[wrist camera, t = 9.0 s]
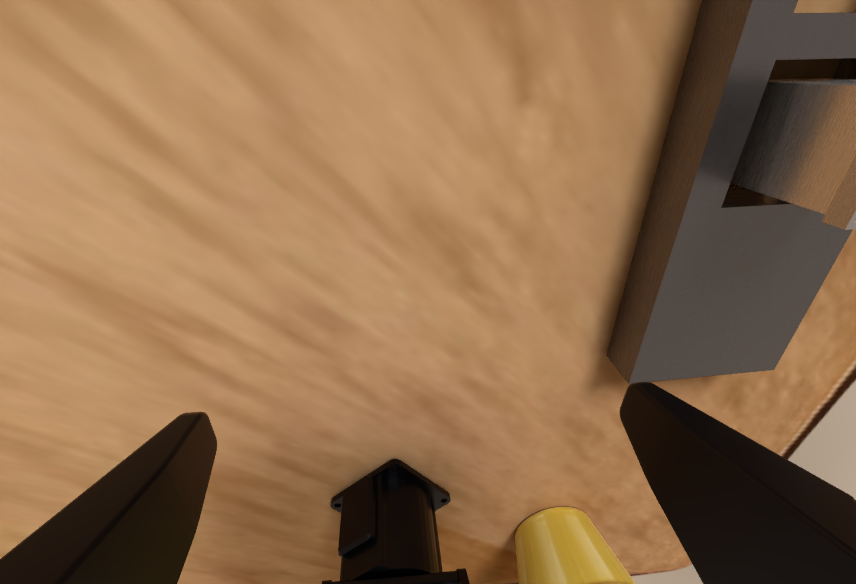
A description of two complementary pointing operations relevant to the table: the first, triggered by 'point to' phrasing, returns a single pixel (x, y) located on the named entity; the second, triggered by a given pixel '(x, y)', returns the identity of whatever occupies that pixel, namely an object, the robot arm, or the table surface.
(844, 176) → the grey-capped square peg
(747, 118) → the rack rail
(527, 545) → the plant pot
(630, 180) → the table surface
